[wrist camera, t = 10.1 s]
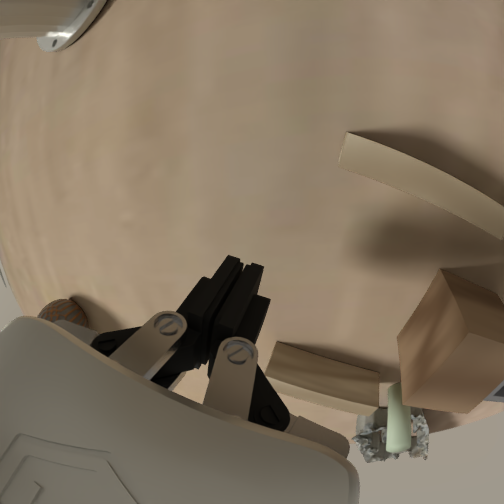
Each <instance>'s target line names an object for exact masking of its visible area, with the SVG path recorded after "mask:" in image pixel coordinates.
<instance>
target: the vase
mask: <svg viewBox="0 0 504 504" xmlns="http://www.w3.org/2000/svg"><path fill="white" fill-rule="evenodd" d="M37 318H41V319H45V320H47V321H50V322H52V323H53V322H55V321H57V320H66V321H69V322H71V323H74V324H77V325H80V326H83V327H86V328H88V322H87V318H86V316H85V314H84V312H83V311H82V309H81V308H80V307H79V306H78V305H77V304H76V303H75V302H73V301H71V300H67V299H58V300H55V301H53V302H51V303H49V304H48V305H46V306H45V307H44V308H43V309H42V310H41V312H40V313H39V315H38V316H37Z"/></svg>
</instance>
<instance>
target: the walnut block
mask: <svg viewBox="0 0 504 504" xmlns="http://www.w3.org/2000/svg"><path fill="white" fill-rule="evenodd" d="M397 342H398V351H399V360H400V371H401V386H402V405H407V406H412V407H418V408H425V409H431V410H439V411H447V412H455V413H466V414H468V413H469V412H470V411H471V410H472V409H474V408H475V407H476V406H477V405H478V404H479V403H480V402H482V401H483V400H484V399H485V398H486V397H487V396H488V395H489V394H490V393H491V392H492V391H493V390H494V389H495V388H496V387H497V386H498V385H499V384H500V383H501V382H502V381H503V380H504V305H503V303H502V301H501V300H500V298H499V296H498V295H497V294H496V293H493V292H491V291H489V290H487V289H485V288H483V287H480V286H478V285H476V284H474V283H472V282H469V281H467V280H465V279H463V278H460V277H458V276H456V275H454V274H451V273H449V272H447V271H444V270H442V269H439V271H438V273H437V274H436V276H435V278H434V280H433V281H432V283H431V285H430V287H429V288H428V290H427V292H426V293H425V295H424V297H423V298H422V300H421V302H420V303H419V305H418V306H417V308H416V310H415V311H414V313H413V314H412V316H411V317H410V319H409V320H408V322H407V323H406V325H405V326H404V328H403V329H402V330H401V332H400V333H399V335H398V336H397Z"/></svg>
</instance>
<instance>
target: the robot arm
mask: <svg viewBox="0 0 504 504" xmlns="http://www.w3.org/2000/svg"><path fill="white" fill-rule="evenodd" d="M106 1H107V0H0V39H10V38H28V37H37V42H38V45H39V47H40V48H41V49H42V50H43V51H46V52H57V51H60V50H63V49H64V48H66V47H68V46H69V45H70V44H72V43H73V42H74V41H75V40H76V39H77V38H78V37H79V36H80V35H81V34H82V33H83V32H84V31H85V30H86V29H87V28H88V26H89V25H90V24H91V23H92V22H93V20H94V19H95V17H96V16H97V15H98V13H99V12H100V11H101V9H102V7H103V6H104V4H105V3H106ZM243 265H244V264H243V263H241V262H240V259H239V258H236V257H233V256H230V255H228V256H227V257H226V259H225V260H224V261H223V263H222V264H221V266H220V267H219V268H218V270H217V271H216V273H215V274H214V275H213V277H212V278H211V279H209V278H207V277H202V278H201V279H200V280H199V282H198V283H197V284H196V286H195V287H194V288H193V290H192V291H191V292H190V294H189V295H188V296H187V298H186V299H185V300H184V302H183V303H182V304H181V306H180V307H179V308H178V310H177V311H176V312H174V311H162V312H159V313H157V314H156V315H154V316H153V317H152V318H151V319H150V320H149V321H147V322H146V323H145V324H144V325H143V326H141V327H135V328H130V329H124V330H118V331H112V332H106V333H103V334H98V332H97V331H95V330H92V329H89V328H86V327H83V326H80V325H77V324H74V323H71V322H69V321H66V320H57V321H55V322H53V323H52V322H50V321H47V320H45V319H41V318H37V317H33V316H21V317H18V318H16V319H14V320H13V321H11V322H10V323H9V324H7V325H6V326H5V327H4V328H3V329H2V330H0V504H358V503H359V493H360V482H359V476H358V473H357V470H356V468H355V467H354V466H353V465H352V463H351V462H350V461H348V460H347V459H346V458H347V456H348V454H349V449H350V446H349V442H348V440H347V439H346V437H344V436H343V435H341V434H339V433H337V432H334V431H332V430H330V429H327V428H325V427H323V426H321V425H318V424H316V423H314V422H312V421H310V420H308V419H306V418H303V417H301V416H298V417H296V416H294V415H292V414H290V413H289V411H288V409H287V407H286V406H285V404H284V403H283V402H282V400H281V399H280V397H279V396H278V394H277V393H276V391H275V390H274V388H273V387H272V385H271V384H270V382H269V381H268V379H267V378H266V376H265V375H264V373H263V372H262V370H261V369H260V367H259V365H258V364H257V361H258V350H257V348H256V346H255V343H256V341H257V338H258V336H259V333H260V330H261V328H262V325H263V322H264V319H265V316H266V313H267V310H268V307H269V304H270V300H271V299H269V298H266V297H263V296H259V295H257V293H258V289H259V285H260V281H261V277H262V273H263V269H264V266H261V265H258V264H255V263H252V264H251V265H248V264H247V265H246V266H245V268H244V270H243ZM242 270H243V271H242ZM208 360H209V365H208V374H207V375H208V377H209V379H210V380H209V384H208V387H207V391H206V394H205V398H204V401H203V405H202V404H200V403H197V402H195V401H192V400H190V399H188V398H186V397H183V396H181V395H179V394H177V393H174V392H172V390H173V389H174V388H175V387H176V386H177V384H178V383H179V382H180V381H181V380H182V378H183V377H184V376H185V374H186V371H189V370H193V369H194V368H196V369H199V368H200V366H201V364H204V365H206V363H207V362H208Z"/></svg>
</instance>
